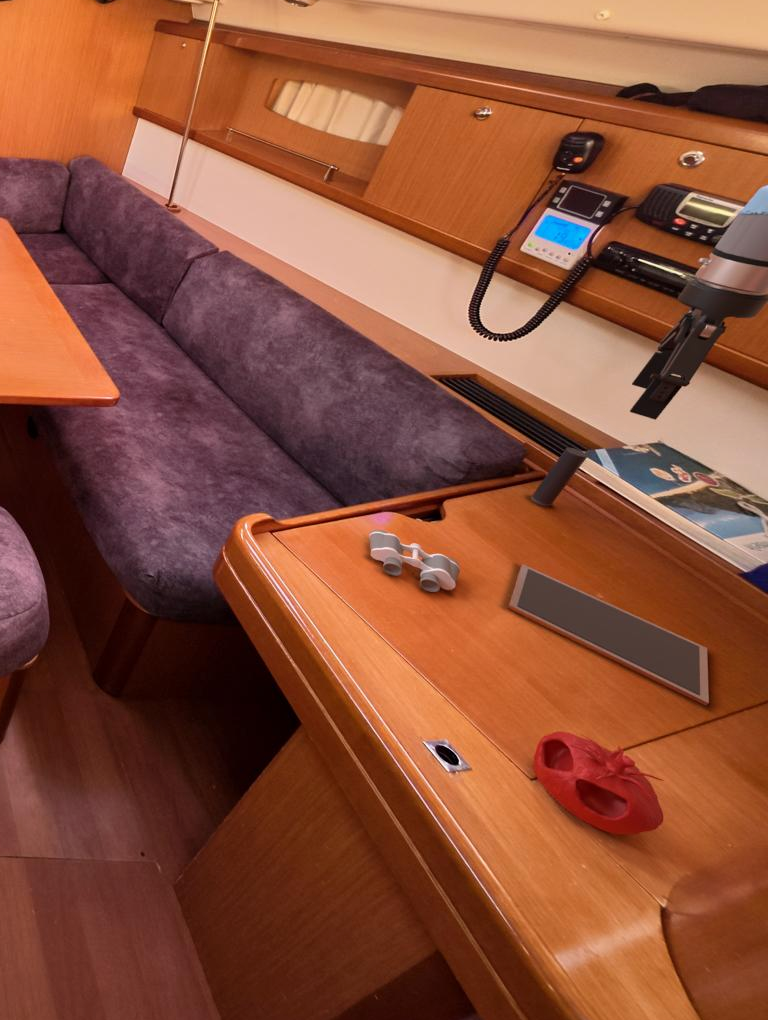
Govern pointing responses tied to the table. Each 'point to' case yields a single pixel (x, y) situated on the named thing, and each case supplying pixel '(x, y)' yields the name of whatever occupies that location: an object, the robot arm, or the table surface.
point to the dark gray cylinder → (559, 476)
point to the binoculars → (414, 561)
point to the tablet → (613, 633)
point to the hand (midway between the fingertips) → (643, 401)
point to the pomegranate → (597, 784)
